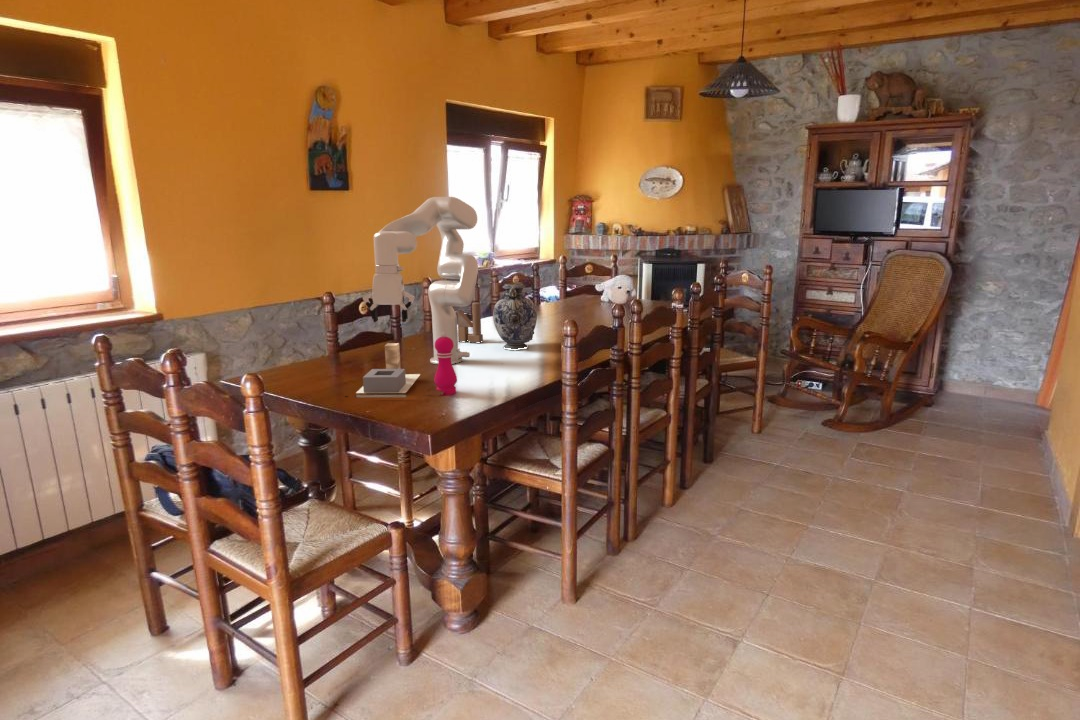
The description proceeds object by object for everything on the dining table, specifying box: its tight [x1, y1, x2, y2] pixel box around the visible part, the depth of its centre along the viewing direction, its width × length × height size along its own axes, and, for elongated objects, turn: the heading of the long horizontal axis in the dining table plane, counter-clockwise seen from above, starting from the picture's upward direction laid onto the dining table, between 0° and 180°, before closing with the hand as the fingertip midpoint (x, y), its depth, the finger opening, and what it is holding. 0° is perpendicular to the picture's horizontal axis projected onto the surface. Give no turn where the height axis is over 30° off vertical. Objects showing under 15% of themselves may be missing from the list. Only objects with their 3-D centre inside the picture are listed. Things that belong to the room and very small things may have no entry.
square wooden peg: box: [384, 342, 402, 369], centre depth 220 cm, size 4×4×12 cm
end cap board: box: [355, 368, 421, 399], centre depth 215 cm, size 16×24×6 cm, turn 179°
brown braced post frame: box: [456, 302, 484, 342], centre depth 288 cm, size 4×11×18 cm, turn 69°
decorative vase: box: [492, 281, 538, 349], centre depth 274 cm, size 21×19×28 cm
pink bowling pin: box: [433, 332, 458, 396], centre depth 207 cm, size 7×7×20 cm
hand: (390, 321), depth 217 cm, fingers open, 9 cm apart
